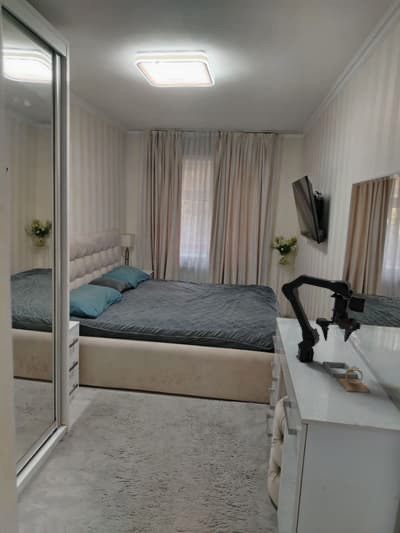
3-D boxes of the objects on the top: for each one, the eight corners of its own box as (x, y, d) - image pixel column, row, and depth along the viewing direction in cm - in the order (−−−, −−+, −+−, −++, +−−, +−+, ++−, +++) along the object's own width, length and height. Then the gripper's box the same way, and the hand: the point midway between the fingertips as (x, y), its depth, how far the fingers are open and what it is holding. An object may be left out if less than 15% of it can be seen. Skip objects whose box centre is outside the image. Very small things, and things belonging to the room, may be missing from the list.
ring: (344, 384, 153) (347, 366, 151) (343, 381, 156) (346, 363, 155) (362, 388, 151) (365, 370, 150) (361, 384, 154) (364, 366, 153)
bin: (333, 377, 160) (334, 373, 159) (322, 365, 172) (323, 361, 172) (357, 379, 160) (358, 374, 160) (344, 366, 173) (344, 362, 173)
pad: (346, 391, 148) (347, 390, 148) (336, 379, 158) (336, 378, 158) (370, 392, 149) (370, 391, 149) (358, 380, 159) (358, 379, 159)
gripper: (327, 312, 157) (322, 347, 159) (369, 315, 158) (363, 349, 161) (317, 305, 168) (313, 337, 170) (356, 307, 169) (351, 340, 172)
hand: (335, 341), depth 168 cm, fingers open, 9 cm apart
